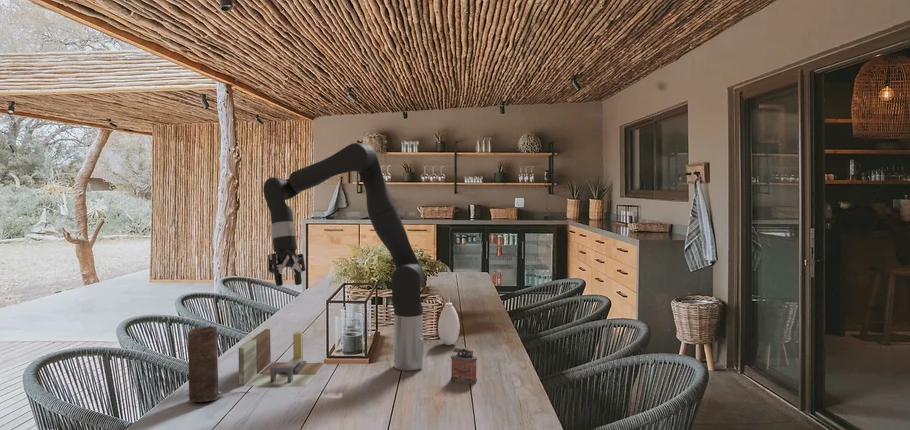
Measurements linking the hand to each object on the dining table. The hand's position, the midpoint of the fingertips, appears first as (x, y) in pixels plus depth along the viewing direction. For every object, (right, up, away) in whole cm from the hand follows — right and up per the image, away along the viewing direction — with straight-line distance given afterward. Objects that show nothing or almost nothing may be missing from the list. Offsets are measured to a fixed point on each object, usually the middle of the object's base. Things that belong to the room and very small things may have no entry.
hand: (289, 285), depth 191 cm
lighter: (+57, -27, -17) cm, 65 cm away
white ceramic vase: (+52, -25, +23) cm, 62 cm away
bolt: (+4, -25, -9) cm, 27 cm away
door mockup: (+3, -26, -14) cm, 30 cm away
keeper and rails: (+4, -25, -14) cm, 29 cm away
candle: (-13, -27, -34) cm, 46 cm away
